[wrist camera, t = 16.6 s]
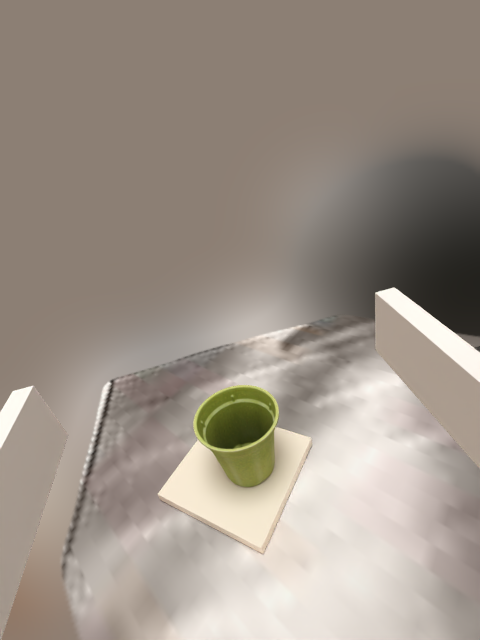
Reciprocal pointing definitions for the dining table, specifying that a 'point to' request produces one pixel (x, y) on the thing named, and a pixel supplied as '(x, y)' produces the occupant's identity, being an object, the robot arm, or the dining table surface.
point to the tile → (237, 491)
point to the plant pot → (240, 432)
